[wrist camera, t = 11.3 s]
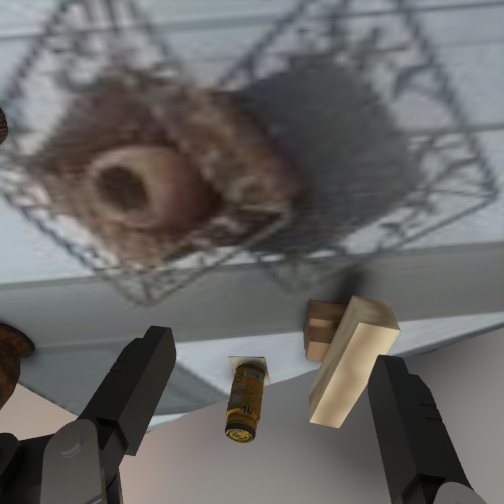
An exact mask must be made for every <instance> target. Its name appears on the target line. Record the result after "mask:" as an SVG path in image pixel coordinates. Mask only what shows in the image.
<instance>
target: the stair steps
mask: <svg viewBox="0 0 504 504" xmlns="http://www.w3.org/2000/svg"><path fill="white" fill-rule="evenodd" d="M347 306H348V305H345V304H337V303H328V302H320V301H311V300H309V305H308V310H307V315H306V321H305V326H304V349H305V350H306V359H308V360H315V361H322V362H323V360H324V358H325V356H326V354H327V351H328V349H329V347H330V345H331V342H332V340H333V338H334V336H335V333H336V331H337V329H338V327H339V324H340V322H341V320H342V318H343V315H344V313H345V311H346V309H347Z"/></svg>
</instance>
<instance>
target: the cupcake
mask: <svg viewBox="0 0 504 504" xmlns="http://www.w3.org/2000/svg"><path fill="white" fill-rule="evenodd" d="M7 133H8V127H7V122H6V120H5V115H4V114H3V112H2V110H1V109H0V144H1V143H2V142H3V141H4V140H5V139H6V136H7Z"/></svg>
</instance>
